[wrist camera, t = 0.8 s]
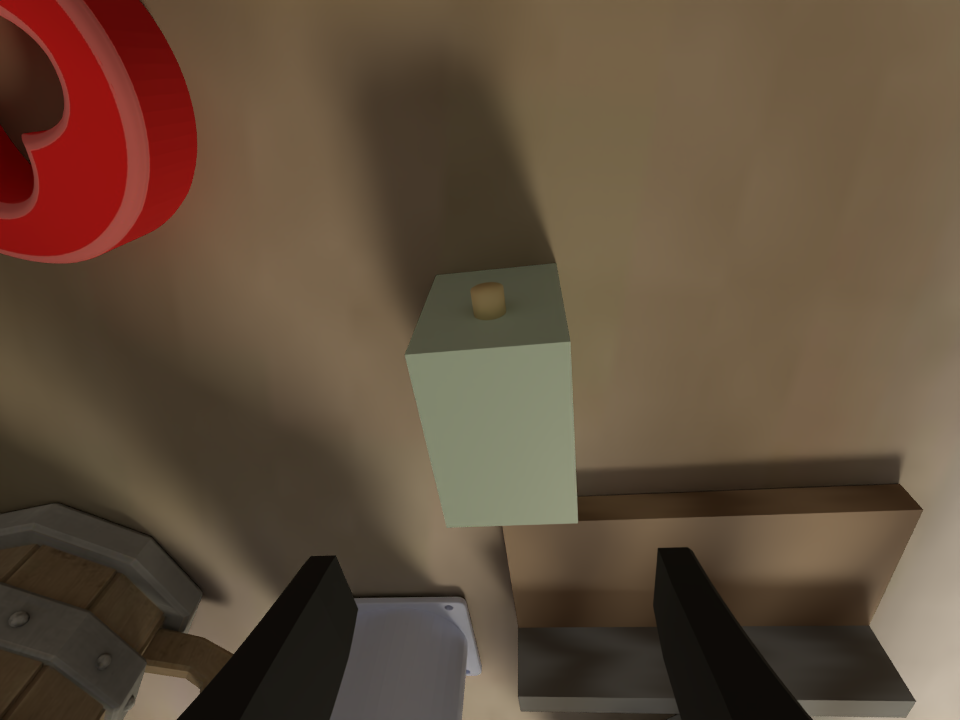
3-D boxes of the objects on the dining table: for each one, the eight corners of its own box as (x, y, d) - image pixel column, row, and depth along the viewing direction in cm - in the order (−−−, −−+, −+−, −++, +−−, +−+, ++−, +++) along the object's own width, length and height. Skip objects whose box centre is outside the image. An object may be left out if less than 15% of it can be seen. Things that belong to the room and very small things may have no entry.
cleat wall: (520, 617, 29) (520, 711, 25) (502, 499, 24) (499, 591, 20) (845, 614, 27) (905, 717, 23) (899, 483, 22) (990, 584, 18)
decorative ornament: (-144, -156, 13) (-311, -213, 11) (208, -11, 15) (137, -30, 12) (-65, 184, 18) (-167, 205, 16) (194, 273, 19) (142, 307, 17)
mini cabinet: (463, 420, 22) (446, 527, 17) (432, 254, 18) (398, 328, 13) (564, 414, 22) (577, 523, 16) (554, 241, 18) (569, 314, 12)
